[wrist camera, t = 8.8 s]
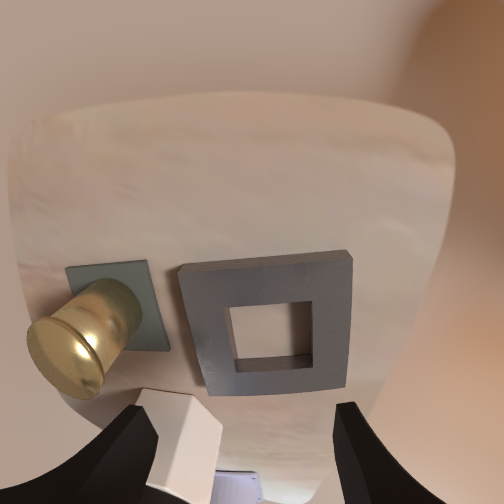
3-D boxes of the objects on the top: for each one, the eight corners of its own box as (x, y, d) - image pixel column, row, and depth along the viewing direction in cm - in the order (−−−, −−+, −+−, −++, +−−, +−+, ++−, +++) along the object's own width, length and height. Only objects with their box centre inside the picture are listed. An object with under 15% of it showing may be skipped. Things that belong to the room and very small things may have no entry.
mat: (170, 348, 20) (169, 351, 20) (95, 345, 21) (93, 347, 21) (146, 259, 18) (144, 261, 18) (68, 266, 19) (64, 268, 18)
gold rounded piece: (156, 336, 20) (115, 403, 13) (100, 340, 20) (53, 395, 13) (131, 268, 18) (71, 319, 11) (75, 278, 19) (14, 322, 12)
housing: (341, 374, 20) (345, 387, 19) (211, 382, 21) (208, 396, 20) (346, 249, 17) (352, 258, 16) (184, 263, 18) (177, 273, 17)
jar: (115, 395, 23) (63, 493, 12) (178, 375, 21) (130, 506, 10) (173, 448, 25) (146, 540, 14) (238, 436, 24) (223, 548, 12)
